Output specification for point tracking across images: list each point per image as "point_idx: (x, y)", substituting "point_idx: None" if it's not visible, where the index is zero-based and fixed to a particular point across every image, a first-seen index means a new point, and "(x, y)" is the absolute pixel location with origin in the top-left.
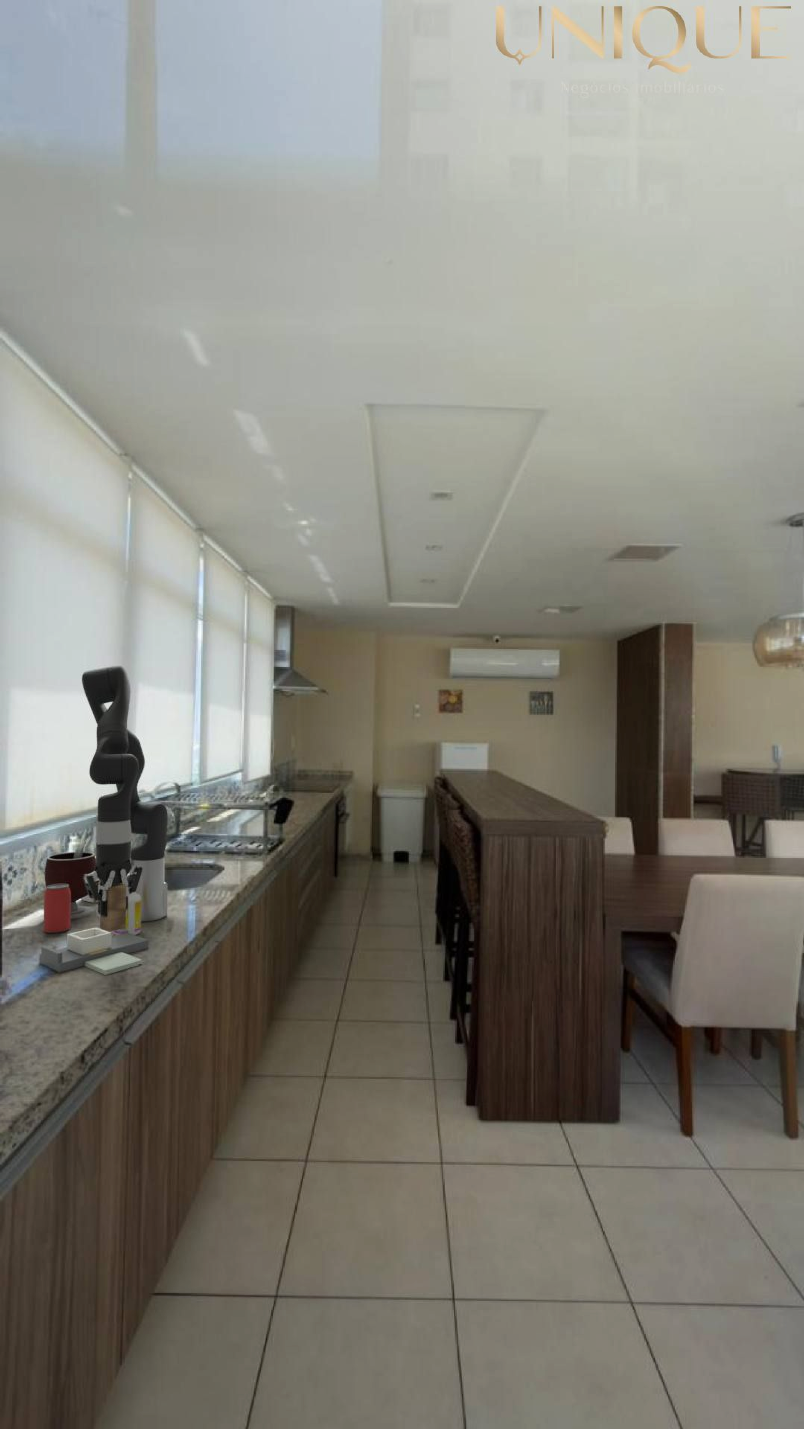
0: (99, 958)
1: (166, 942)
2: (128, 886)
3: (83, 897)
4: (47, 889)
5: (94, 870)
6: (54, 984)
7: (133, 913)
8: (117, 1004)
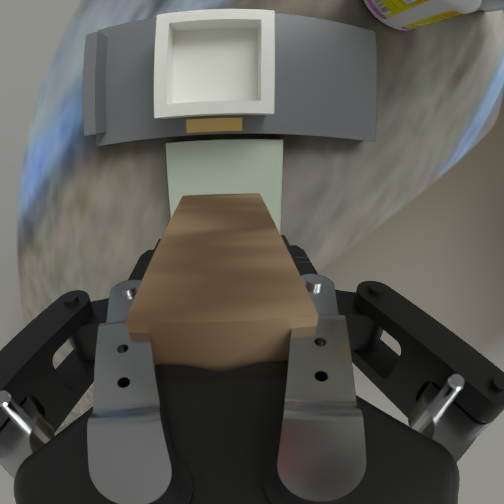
0: (208, 144)
1: (411, 142)
2: (371, 316)
3: None
4: None
5: (16, 484)
6: (76, 217)
7: (428, 14)
8: None
